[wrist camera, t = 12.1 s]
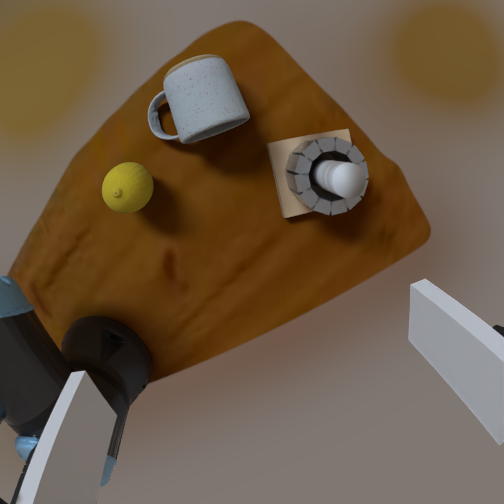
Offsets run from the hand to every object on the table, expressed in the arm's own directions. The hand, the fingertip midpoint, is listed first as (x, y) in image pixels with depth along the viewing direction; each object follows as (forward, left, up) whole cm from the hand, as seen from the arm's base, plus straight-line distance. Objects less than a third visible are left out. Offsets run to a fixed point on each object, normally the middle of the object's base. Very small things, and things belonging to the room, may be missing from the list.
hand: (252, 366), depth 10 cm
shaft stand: (+11, +3, -27) cm, 29 cm away
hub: (+11, +3, -26) cm, 28 cm away
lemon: (-10, +7, -27) cm, 30 cm away
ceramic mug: (-1, +13, -28) cm, 31 cm away
